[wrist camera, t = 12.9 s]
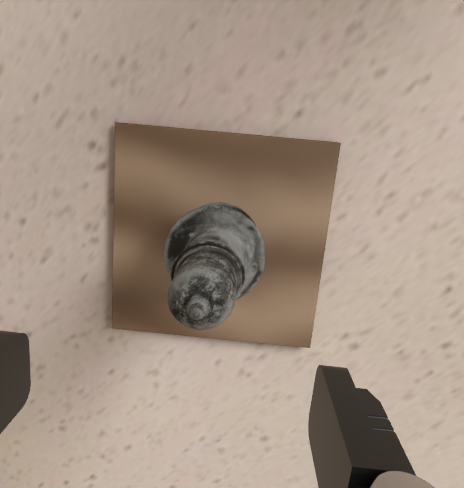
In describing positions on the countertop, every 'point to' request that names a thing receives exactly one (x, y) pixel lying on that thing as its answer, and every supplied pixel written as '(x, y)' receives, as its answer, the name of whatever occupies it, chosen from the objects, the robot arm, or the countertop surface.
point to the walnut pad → (232, 192)
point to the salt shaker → (212, 263)
